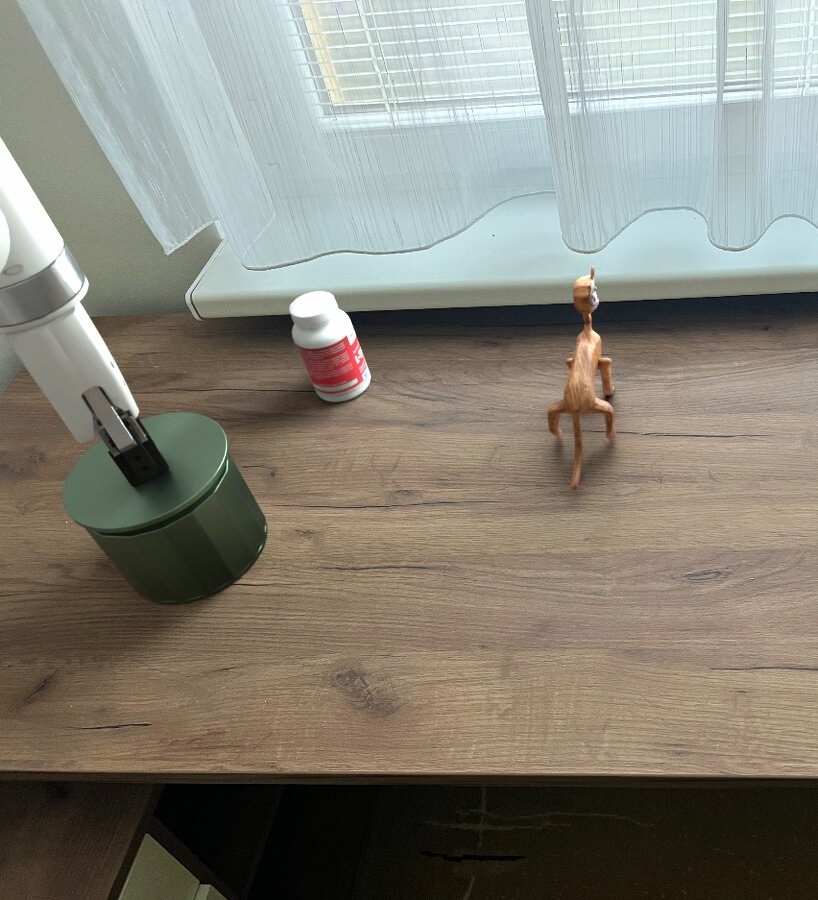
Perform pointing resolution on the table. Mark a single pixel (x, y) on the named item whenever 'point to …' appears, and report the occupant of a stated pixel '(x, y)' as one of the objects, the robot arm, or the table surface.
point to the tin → (192, 545)
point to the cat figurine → (584, 377)
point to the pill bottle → (328, 347)
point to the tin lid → (130, 508)
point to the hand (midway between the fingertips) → (144, 465)
